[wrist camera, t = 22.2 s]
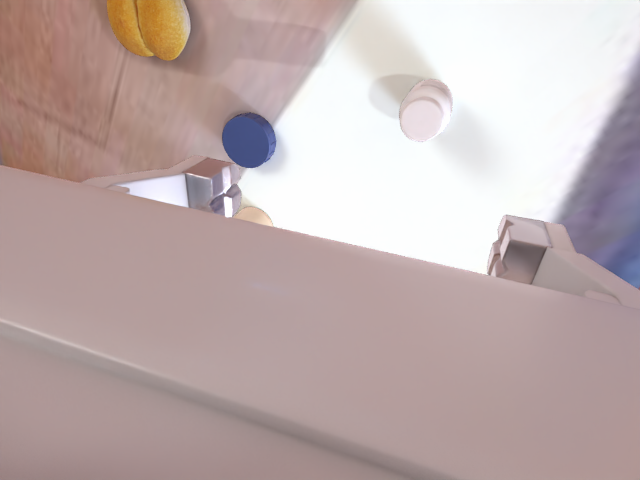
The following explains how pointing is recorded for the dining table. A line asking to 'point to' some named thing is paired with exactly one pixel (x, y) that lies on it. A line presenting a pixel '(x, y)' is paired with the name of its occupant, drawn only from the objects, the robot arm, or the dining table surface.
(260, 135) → the lid
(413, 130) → the pill bottle
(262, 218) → the beige cylinder
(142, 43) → the bread roll
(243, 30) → the dining table surface
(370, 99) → the dining table surface
